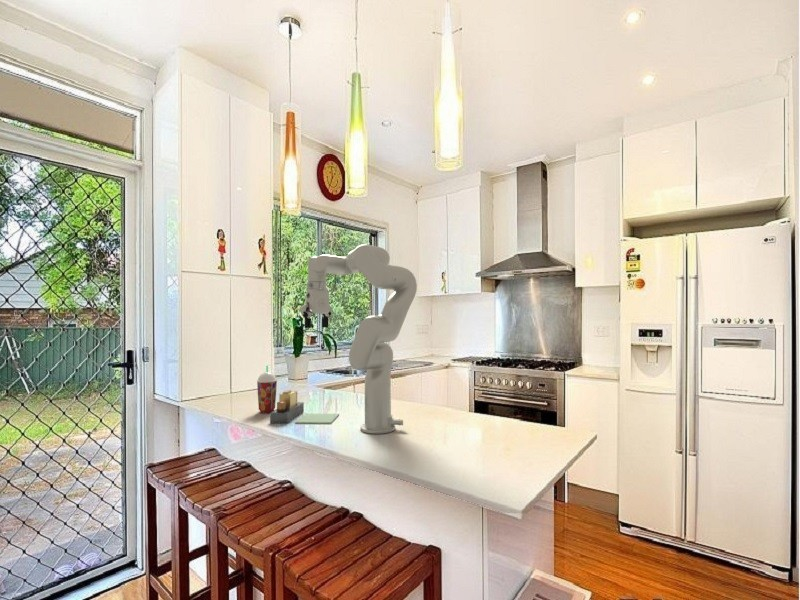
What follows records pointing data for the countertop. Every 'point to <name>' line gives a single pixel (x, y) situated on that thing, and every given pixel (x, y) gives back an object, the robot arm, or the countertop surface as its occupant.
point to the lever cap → (288, 398)
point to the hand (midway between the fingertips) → (316, 327)
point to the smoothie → (266, 392)
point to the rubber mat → (317, 419)
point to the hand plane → (286, 412)
